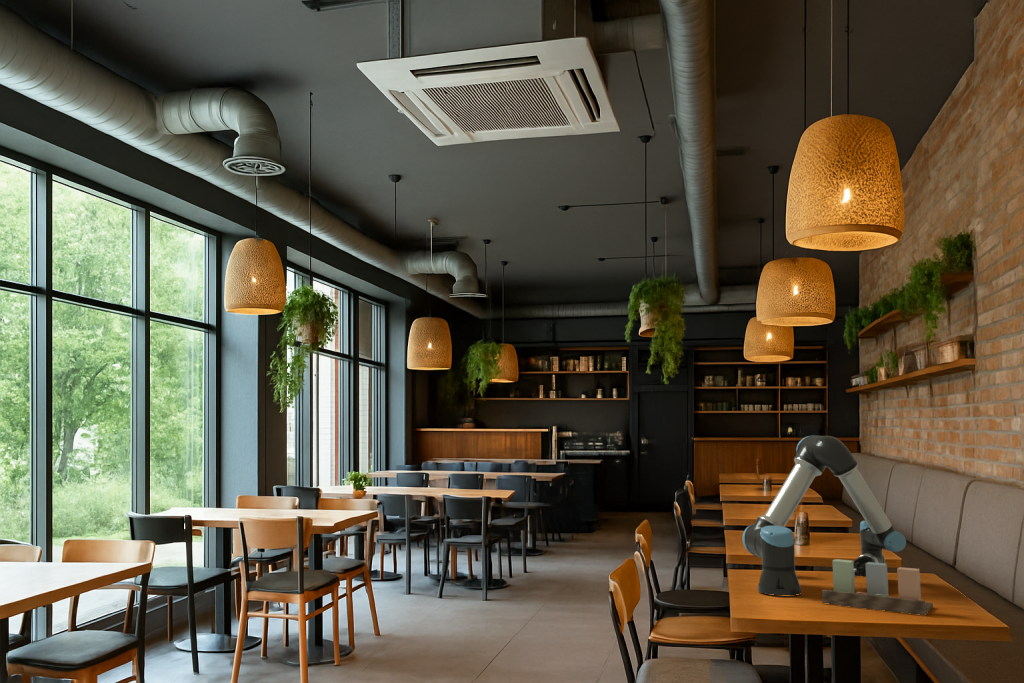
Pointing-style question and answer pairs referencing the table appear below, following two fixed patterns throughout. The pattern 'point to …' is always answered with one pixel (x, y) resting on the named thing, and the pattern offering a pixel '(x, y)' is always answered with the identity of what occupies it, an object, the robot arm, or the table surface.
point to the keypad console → (876, 602)
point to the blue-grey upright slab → (877, 578)
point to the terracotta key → (909, 583)
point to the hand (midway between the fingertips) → (850, 575)
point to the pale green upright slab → (843, 575)
